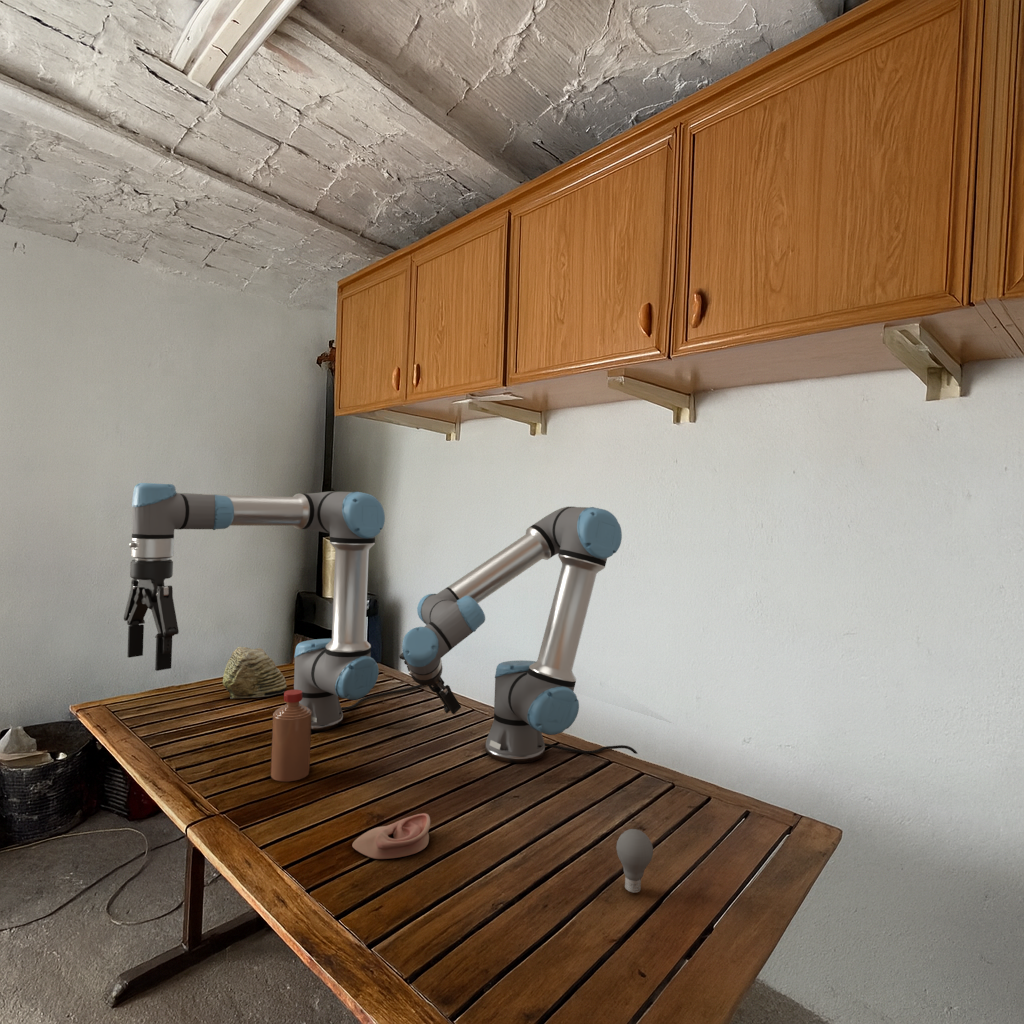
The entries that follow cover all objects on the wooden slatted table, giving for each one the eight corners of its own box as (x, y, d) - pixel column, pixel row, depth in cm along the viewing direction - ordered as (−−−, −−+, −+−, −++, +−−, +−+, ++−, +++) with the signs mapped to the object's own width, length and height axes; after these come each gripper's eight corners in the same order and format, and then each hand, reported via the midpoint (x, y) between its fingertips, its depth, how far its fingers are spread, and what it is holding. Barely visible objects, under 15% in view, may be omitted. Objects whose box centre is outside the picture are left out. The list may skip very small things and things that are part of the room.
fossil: (218, 695, 195) (220, 647, 195) (278, 685, 208) (279, 640, 207) (228, 703, 189) (230, 653, 188) (289, 692, 201) (290, 645, 201)
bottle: (271, 783, 139) (274, 701, 138) (269, 768, 146) (272, 689, 146) (311, 778, 142) (314, 697, 142) (307, 763, 150) (310, 687, 149)
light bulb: (610, 879, 108) (613, 822, 108) (644, 879, 109) (647, 822, 109) (619, 902, 102) (622, 840, 102) (655, 901, 103) (658, 840, 103)
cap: (284, 703, 141) (284, 695, 141) (283, 697, 145) (283, 690, 145) (303, 701, 143) (303, 693, 143) (301, 696, 146) (301, 688, 146)
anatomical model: (345, 832, 112) (372, 802, 124) (344, 854, 113) (371, 822, 124) (415, 843, 110) (436, 812, 121) (414, 866, 110) (436, 832, 121)
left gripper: (108, 554, 134) (104, 654, 134) (159, 565, 118) (155, 678, 119) (146, 552, 140) (143, 648, 140) (199, 563, 124) (195, 671, 124)
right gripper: (377, 638, 147) (389, 665, 165) (450, 716, 139) (454, 736, 157) (402, 616, 150) (411, 646, 168) (474, 692, 142) (475, 714, 160)
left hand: (148, 662), depth 129 cm, fingers open, 13 cm apart
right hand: (431, 689), depth 163 cm, fingers open, 13 cm apart
